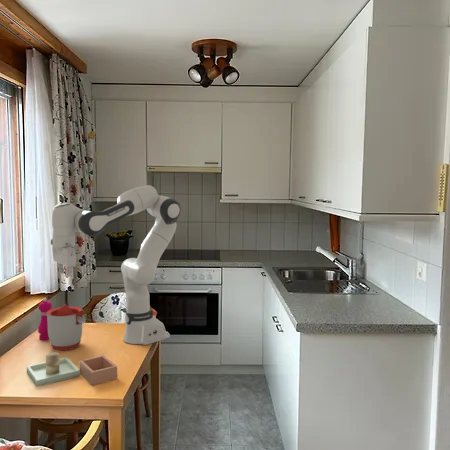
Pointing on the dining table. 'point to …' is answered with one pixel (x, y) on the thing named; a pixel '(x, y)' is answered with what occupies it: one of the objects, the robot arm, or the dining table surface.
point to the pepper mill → (44, 319)
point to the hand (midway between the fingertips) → (64, 274)
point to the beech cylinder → (52, 363)
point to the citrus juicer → (65, 327)
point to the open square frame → (99, 375)
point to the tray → (41, 378)
